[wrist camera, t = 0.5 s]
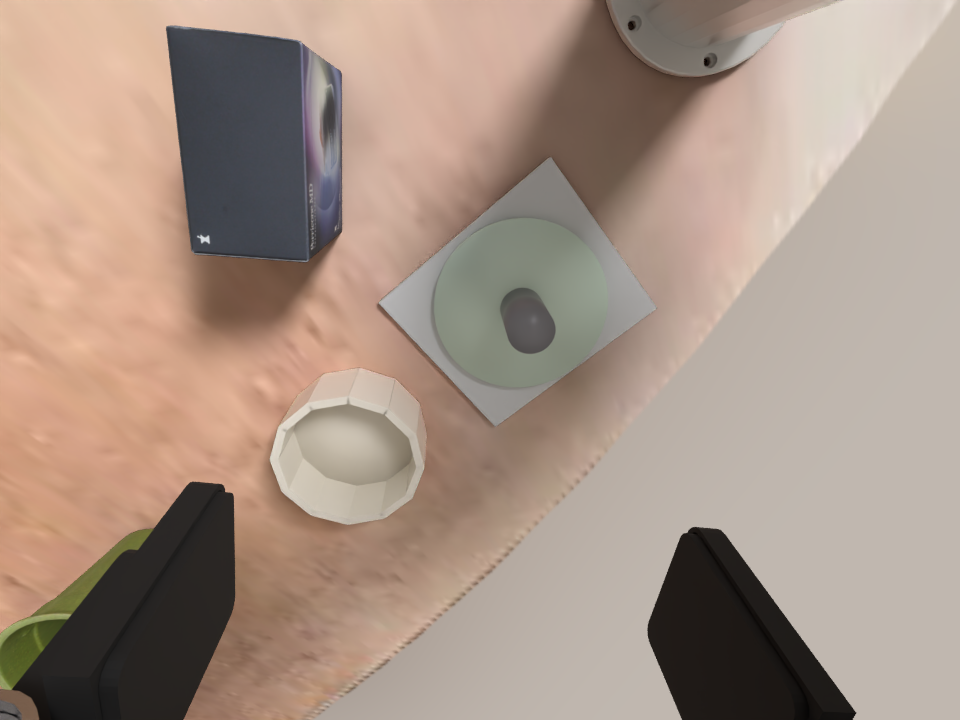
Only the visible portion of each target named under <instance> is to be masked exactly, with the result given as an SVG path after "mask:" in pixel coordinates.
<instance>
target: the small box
mask: <svg viewBox="0 0 960 720" xmlns="http://www.w3.org/2000/svg"><path fill="white" fill-rule="evenodd" d="M166 31H167V39H168V49H169V59H170V67H171V76H172V85H173V93H174V103H175V112H176V120H177V130H178V139H179V146H180V156H181V164H182V172H183V182H184V191H185V199H186V209H187V216H188V226H189V233H190V242H191V250H192V252H193V253H194V254H196V255H210V256H224V257H236V258H253V259H264V260H281V261H294V262H308V261H309V260H310V258H312V257H313V256H314V255H315V254H316V253H317V252H319V251H320V250H321V249H322V248H323V247H324V246H325V245H327V244H328V243H329V242H330V241H331V240H332V239H334V238H335V237H336V236H337V235H338V234H340V233H341V232H342V74H341V71H340V70H338V69H336V68H335V67H334V66H332V65H331V64H330V63H328V62H327V61H325V60H324V59H322V58H321V57H320V56H318V55H317V54H316V53H314V52H313V51H311V50H310V49H309V48H307V47H306V46H305V45H304V44H303V43H301V42H300V41H298V40H292V39H285V38H279V37H271V36H262V35H255V34H247V33H236V32H228V31H219V30H210V29H200V28H191V27H182V26H167V27H166Z"/></svg>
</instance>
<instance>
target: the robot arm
mask: <svg viewBox="0 0 960 720" xmlns="http://www.w3.org/2000/svg"><path fill="white" fill-rule="evenodd" d="M840 1H843V0H606V3H607V6H608V9H609V12H610V15H611V19H612V22H613V24H614V26H615V28H616V29H617V31H618V33H619V35H620V37H621V39H622V40H623V42H624V43H625V44H626V45H627V47H628V48H629V49H630V50H631V51H632V53H633V54H634V55H635V56H637V57H638V58H639V59H640V60H642V61H643V62H644V63H645V64H647V65H648V66H650V67H652V68H654V69H656V70H658V71H660V72H662V73H665V74H669V75H674V76H679V77H701V76H706V75H711V74H715V73H718V72H721V71H724V70H727V69H730V68H733V67H734V66H736V65H738V64H740V63H742V62H743V61H745V60H747V59H749V58H750V57H752V56H753V55H754V54H755V53H756V52H758V51H759V50H760V49H761V48H763V47H764V46H765V45H766V44H767V43H768V42H769V41H770V40H771V39H772V38H773V37H774V35H775V34H776V33H777V32H778V31H779V30H780V29H781V28H782V26H783V25H784V23H785V22H786V21H787V20H790V19H792V18H795V17H798V16H801V15H803V14H806V13H809V12H812V11H815V10H817V9H820V8H823V7H826V6H829V5H831V4H834V3H837V2H840ZM629 22H632V23H633V25H634V27H633V30H629V29H628V23H629ZM704 58H706V59H707V65H706V66H704V62H703V61H704ZM234 602H235V547H234V496H233V494H232V493H228V492H225V488H224V486H223V485H222V484H213V483H202V482H190V483H189V484H188V485H187V486H186V487H185V489H184V490H183V491H182V493H181V494H180V495H179V497H178V498H177V499H176V501H175V502H174V503H173V504H172V506H171V507H170V508H169V510H168V511H167V512H166V514H165V515H164V516H163V518H162V519H161V520H160V522H159V523H158V524H157V525H156V527H155V528H154V529H153V531H152V532H151V533H150V535H149V536H148V537H147V539H146V540H145V541H144V542H143V544H142V545H141V546H140V548H139V549H138V550H133V549H128V550H126V551H124V552H122V553H121V554H120V555H119V556H118V557H117V558H116V560H115V561H114V562H113V563H112V565H111V566H110V567H109V568H108V570H107V571H106V572H105V573H104V575H103V576H102V577H101V578H100V580H99V581H98V582H97V583H96V585H95V586H94V587H93V588H92V590H91V591H90V592H89V593H88V595H87V596H86V597H85V598H84V600H83V601H82V602H81V603H80V605H79V606H78V607H77V608H76V610H75V611H74V612H73V613H72V615H71V616H70V617H69V618H68V620H67V621H66V622H65V623H64V625H63V626H62V627H61V628H60V630H59V631H58V632H57V633H56V635H55V636H54V637H53V638H52V640H51V641H50V642H49V643H48V645H47V646H46V647H45V648H44V650H43V651H42V652H41V653H40V655H39V656H38V657H37V658H36V660H35V661H34V662H33V663H32V665H31V666H30V667H29V668H28V670H27V671H26V672H25V673H24V675H23V676H22V677H21V678H20V680H19V681H18V682H17V683H16V685H15V686H14V687H13V688H12V690H6V689H0V720H183V719H184V717H185V715H186V713H187V711H188V708H189V706H190V704H191V702H192V700H193V697H194V695H195V693H196V691H197V689H198V686H199V684H200V682H201V680H202V678H203V675H204V673H205V671H206V669H207V667H208V664H209V662H210V660H211V658H212V656H213V654H214V651H215V649H216V647H217V645H218V643H219V640H220V638H221V636H222V634H223V632H224V629H225V627H226V625H227V623H228V621H229V618H230V616H231V613H232V610H233V606H234ZM648 638H649V642H650V644H651V647H652V649H653V652H654V654H655V656H656V659H657V661H658V664H659V666H660V668H661V671H662V673H663V675H664V678H665V680H666V683H667V685H668V687H669V689H670V692H671V694H672V697H673V699H674V702H675V704H676V706H677V709H678V711H679V713H680V716H681V718H682V720H853V718H854V716H855V714H856V712H855V711H854V709H853V708H852V707H851V705H850V704H849V703H848V701H847V700H846V698H845V697H844V696H843V694H842V693H841V692H840V690H839V689H838V687H837V686H836V685H835V683H834V682H833V681H832V679H831V678H830V677H829V675H828V674H827V672H826V671H825V670H824V668H823V667H822V666H821V664H820V663H819V662H818V660H817V659H816V658H815V656H814V655H813V654H812V652H811V651H810V649H809V648H808V647H807V645H806V644H805V643H804V641H803V640H802V639H801V637H800V636H799V634H798V633H797V632H796V630H795V629H794V628H793V626H792V625H791V624H790V622H789V621H788V620H787V618H786V617H785V615H784V614H783V613H782V611H781V610H780V609H779V607H778V606H777V605H776V603H775V602H774V600H773V599H772V598H771V596H770V595H769V594H768V592H767V591H766V589H765V588H764V587H763V585H762V584H761V583H760V581H759V580H758V579H757V577H756V576H755V575H754V573H753V572H752V570H751V569H750V568H749V566H748V565H747V564H746V562H745V561H744V560H743V558H742V557H741V556H740V554H739V553H738V551H737V550H736V549H735V547H734V546H733V545H732V543H731V542H730V541H729V539H728V538H727V536H726V535H725V534H724V533H723V532H722V531H721V530H719V529H711V528H699V527H693V528H691V529H690V530H689V531H688V533H684V534H683V535H682V536H681V538H680V540H679V542H678V545H677V548H676V550H675V553H674V556H673V558H672V561H671V564H670V567H669V569H668V572H667V575H666V577H665V580H664V583H663V585H662V588H661V591H660V594H659V596H658V599H657V601H656V604H655V607H654V609H653V612H652V615H651V617H650V620H649V623H648Z"/></svg>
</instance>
